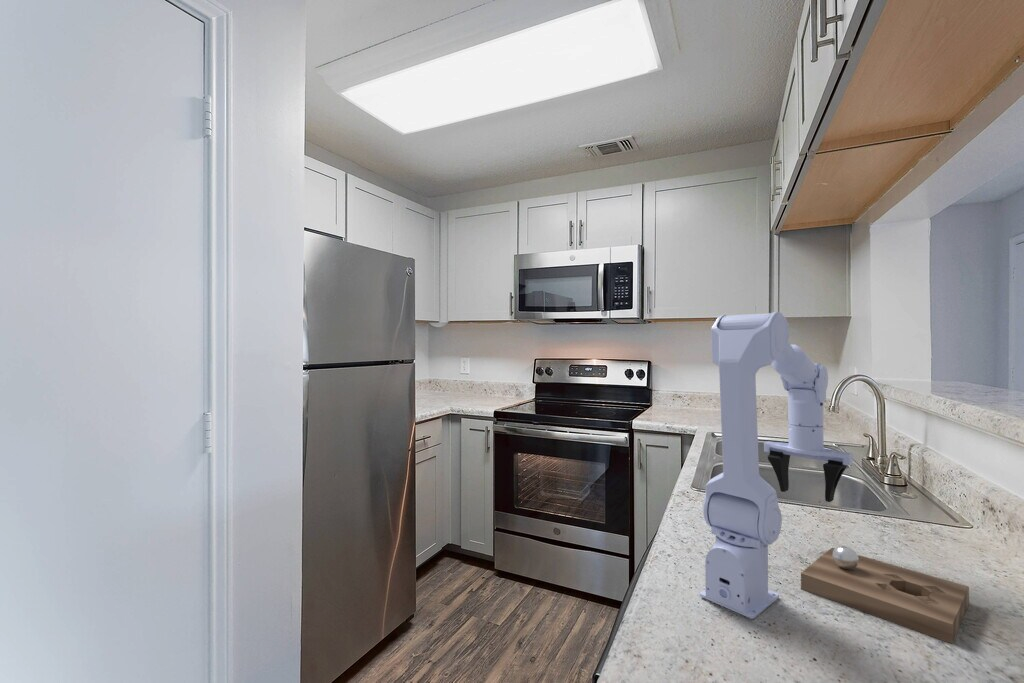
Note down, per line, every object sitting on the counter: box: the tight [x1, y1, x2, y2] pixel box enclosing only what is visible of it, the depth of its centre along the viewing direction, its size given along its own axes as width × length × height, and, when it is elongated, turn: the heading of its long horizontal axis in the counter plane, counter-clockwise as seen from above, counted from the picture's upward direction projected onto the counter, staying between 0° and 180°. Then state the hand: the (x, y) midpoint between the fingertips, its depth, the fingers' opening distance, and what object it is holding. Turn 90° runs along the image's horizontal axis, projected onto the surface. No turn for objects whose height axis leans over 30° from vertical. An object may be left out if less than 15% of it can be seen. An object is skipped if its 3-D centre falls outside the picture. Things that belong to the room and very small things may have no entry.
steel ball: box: [832, 545, 859, 569], centre depth 74 cm, size 4×4×4 cm
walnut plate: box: [800, 547, 970, 645], centre depth 71 cm, size 15×18×2 cm
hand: (806, 495), depth 88 cm, fingers open, 7 cm apart
